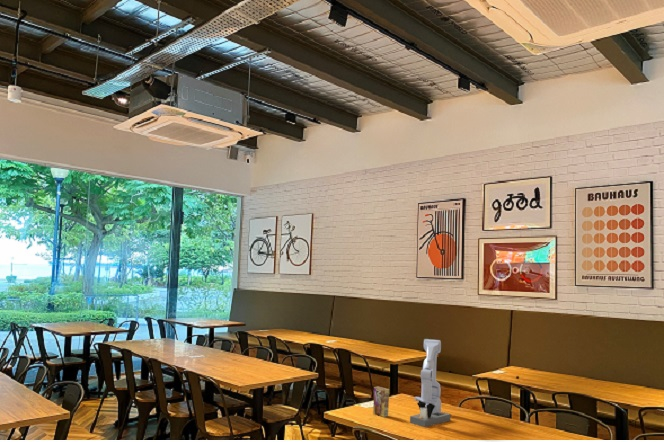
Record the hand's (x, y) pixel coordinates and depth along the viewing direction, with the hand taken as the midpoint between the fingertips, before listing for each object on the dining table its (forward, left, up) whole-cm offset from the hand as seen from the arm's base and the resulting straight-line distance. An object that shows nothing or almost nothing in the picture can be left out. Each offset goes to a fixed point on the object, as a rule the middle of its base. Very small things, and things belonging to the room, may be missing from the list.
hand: (425, 416), depth 286 cm
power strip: (-5, -1, -4) cm, 7 cm away
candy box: (+9, -26, -4) cm, 27 cm away
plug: (0, 0, -2) cm, 2 cm away
